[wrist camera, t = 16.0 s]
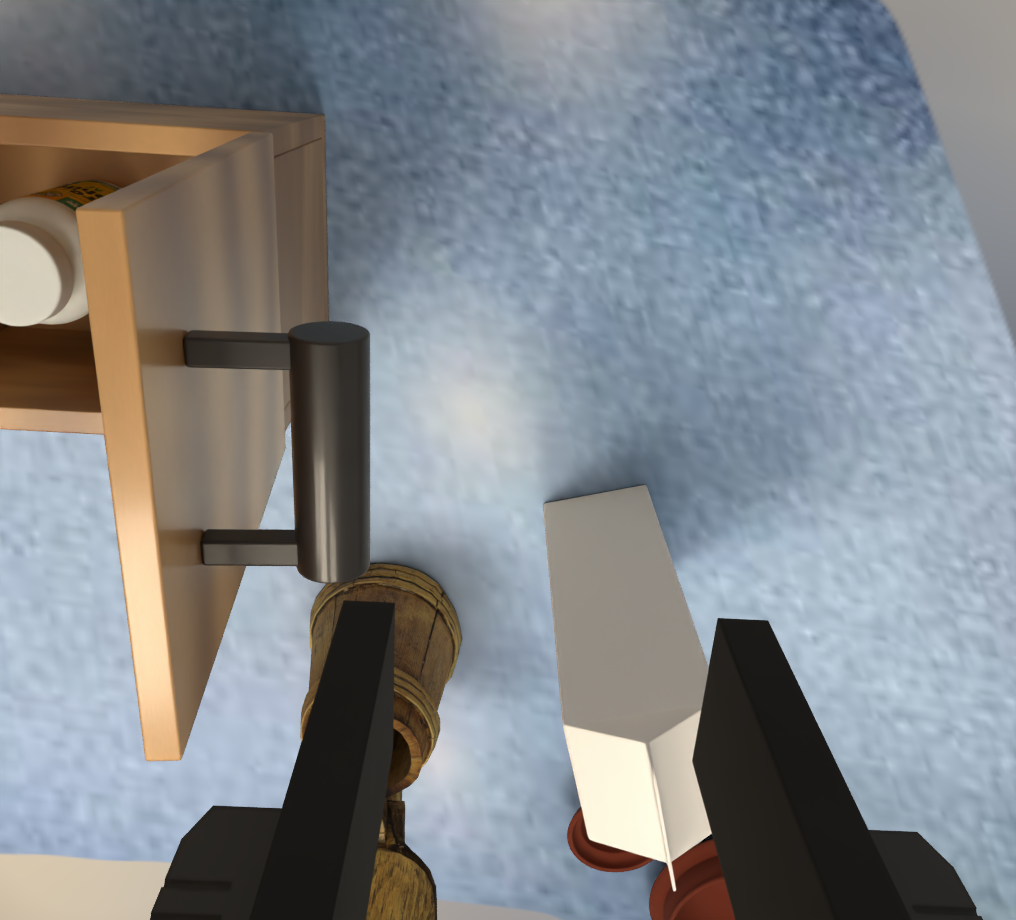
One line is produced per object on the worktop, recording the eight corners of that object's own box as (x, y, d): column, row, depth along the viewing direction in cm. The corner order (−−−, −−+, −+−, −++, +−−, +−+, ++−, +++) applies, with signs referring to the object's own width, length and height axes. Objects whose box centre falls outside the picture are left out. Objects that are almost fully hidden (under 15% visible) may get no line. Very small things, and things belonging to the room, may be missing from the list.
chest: (3, 338, 47) (-149, 421, 36) (-39, 91, 42) (-228, 100, 31) (329, 357, 48) (278, 444, 37) (325, 114, 43) (264, 131, 32)
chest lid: (144, 762, 20) (363, 758, 21) (73, 208, 15) (360, 220, 16) (265, 448, 36) (386, 450, 37) (249, 131, 32) (388, 139, 32)
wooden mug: (341, 751, 58) (278, 1022, 42) (298, 570, 53) (206, 799, 36) (478, 738, 58) (469, 1006, 41) (449, 554, 53) (425, 779, 36)
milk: (560, 590, 54) (591, 910, 33) (541, 500, 51) (562, 787, 31) (662, 572, 53) (756, 886, 33) (648, 481, 51) (740, 759, 31)
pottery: (729, 958, 66) (743, 1016, 62) (519, 828, 61) (520, 882, 57) (849, 866, 63) (873, 921, 59) (637, 720, 57) (647, 769, 53)
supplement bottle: (38, 263, 45) (-75, 312, 36) (62, 158, 43) (-52, 183, 34) (145, 306, 46) (60, 363, 37) (173, 205, 44) (91, 241, 35)
